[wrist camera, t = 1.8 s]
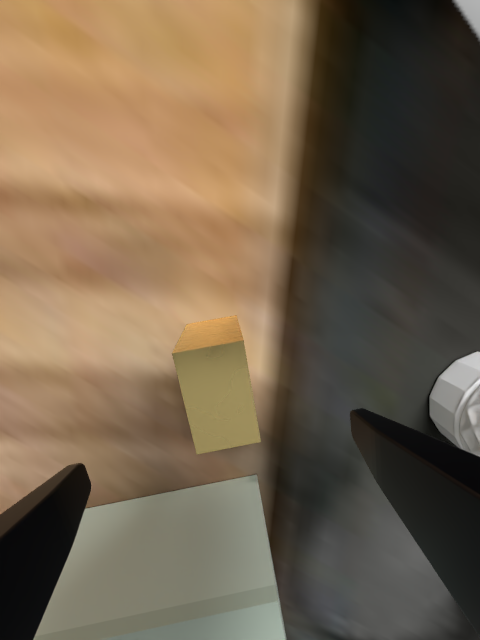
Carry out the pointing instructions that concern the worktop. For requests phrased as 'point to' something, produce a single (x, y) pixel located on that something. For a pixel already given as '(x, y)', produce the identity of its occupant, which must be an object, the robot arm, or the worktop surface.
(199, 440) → the yellow block
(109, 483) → the worktop surface
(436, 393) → the white cup
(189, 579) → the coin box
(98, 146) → the worktop surface
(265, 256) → the worktop surface
